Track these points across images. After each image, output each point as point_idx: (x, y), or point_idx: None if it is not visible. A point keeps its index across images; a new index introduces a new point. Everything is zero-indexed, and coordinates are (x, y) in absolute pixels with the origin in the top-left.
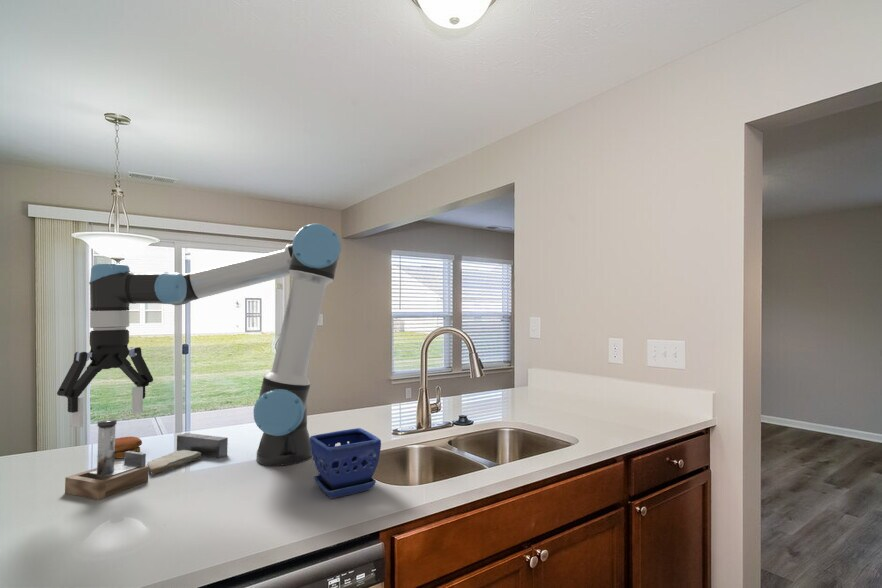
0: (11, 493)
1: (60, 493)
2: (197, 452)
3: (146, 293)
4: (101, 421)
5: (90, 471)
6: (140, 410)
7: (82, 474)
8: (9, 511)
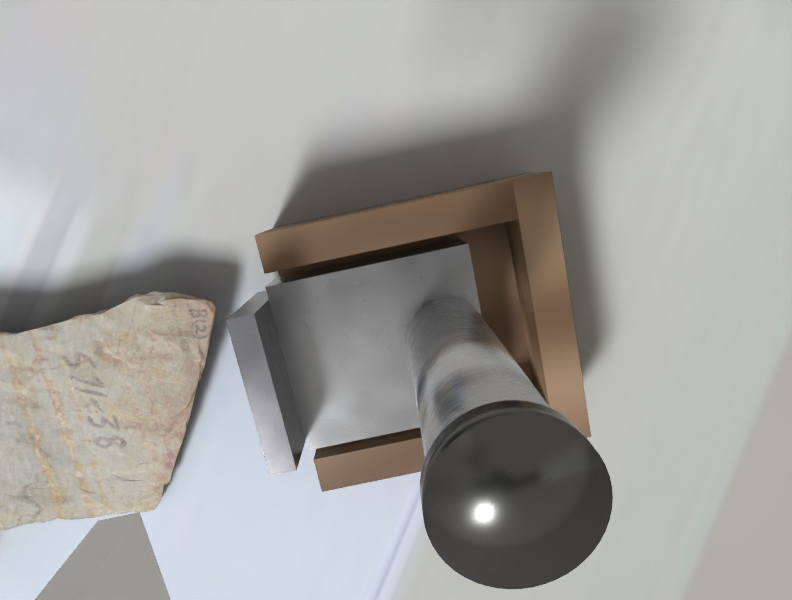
0: (673, 588)
1: None
2: None
3: None
4: (554, 551)
5: None
6: (110, 540)
7: None
8: (770, 365)
